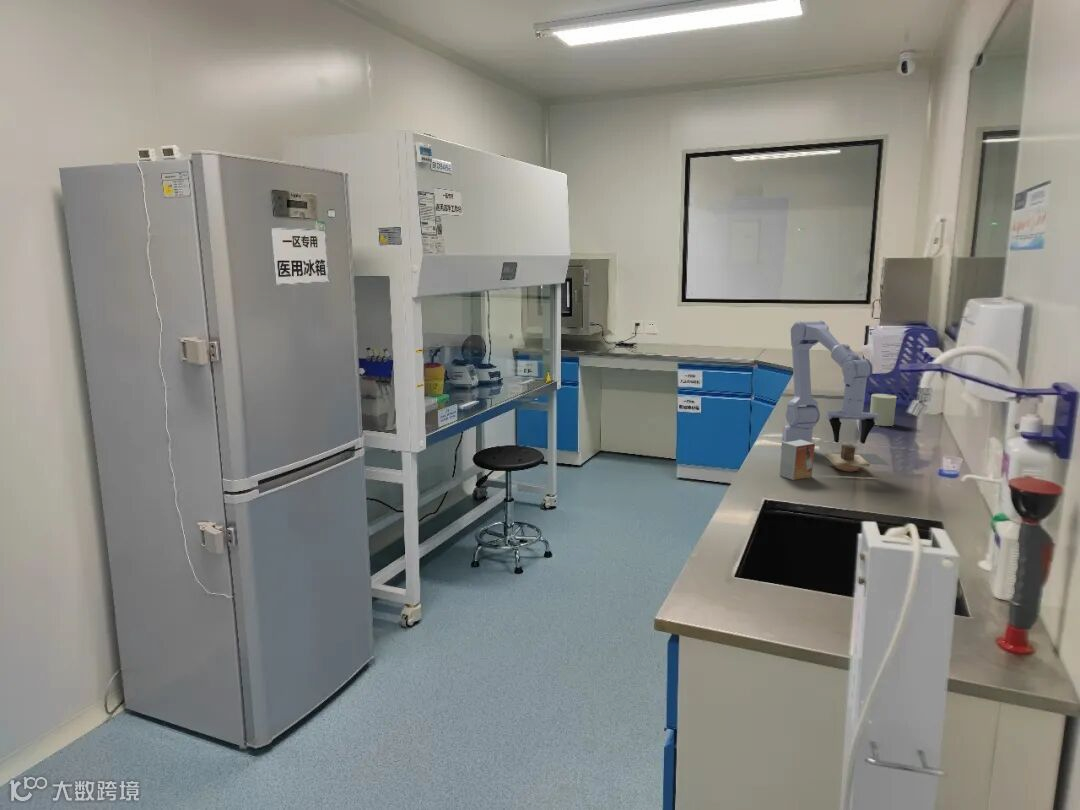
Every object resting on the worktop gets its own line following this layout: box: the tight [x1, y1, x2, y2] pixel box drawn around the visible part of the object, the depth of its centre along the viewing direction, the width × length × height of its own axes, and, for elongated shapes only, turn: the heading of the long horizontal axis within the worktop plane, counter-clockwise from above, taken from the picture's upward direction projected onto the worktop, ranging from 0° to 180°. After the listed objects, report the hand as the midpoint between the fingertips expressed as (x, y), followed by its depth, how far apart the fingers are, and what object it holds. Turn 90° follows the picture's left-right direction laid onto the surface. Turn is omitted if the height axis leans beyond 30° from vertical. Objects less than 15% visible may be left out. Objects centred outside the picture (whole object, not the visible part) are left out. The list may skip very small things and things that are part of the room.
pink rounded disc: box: [834, 465, 860, 473], centre depth 213 cm, size 7×7×3 cm
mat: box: [831, 451, 890, 466], centre depth 225 cm, size 14×12×1 cm
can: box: [869, 393, 898, 427], centre depth 274 cm, size 9×9×12 cm
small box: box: [779, 440, 816, 481], centre depth 207 cm, size 8×6×10 cm
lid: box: [825, 444, 871, 467], centre depth 213 cm, size 10×10×5 cm
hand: (849, 442), depth 212 cm, fingers open, 7 cm apart
